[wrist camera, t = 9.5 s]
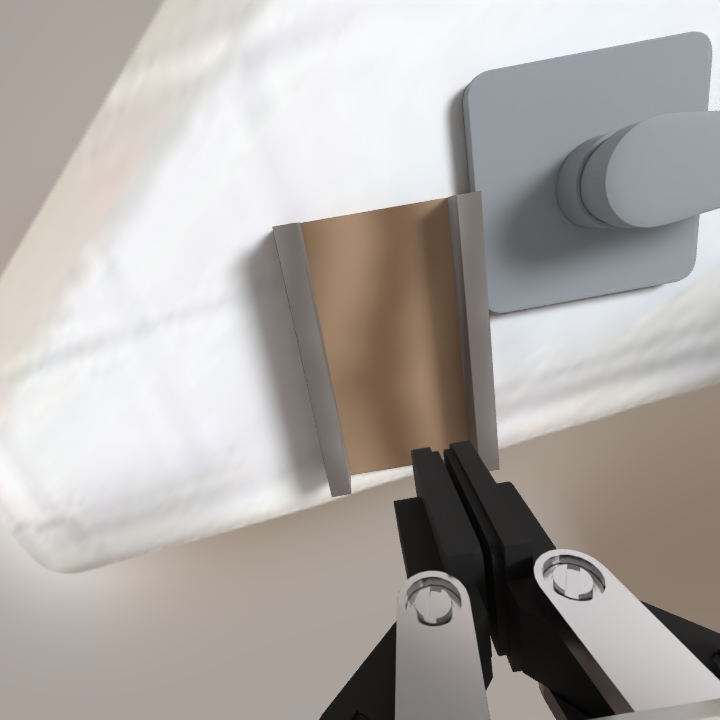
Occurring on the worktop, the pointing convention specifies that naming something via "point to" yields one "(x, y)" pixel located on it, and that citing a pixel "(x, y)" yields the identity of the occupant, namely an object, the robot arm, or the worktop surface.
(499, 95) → the shower valve
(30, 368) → the worktop surface
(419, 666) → the robot arm
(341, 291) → the stand
